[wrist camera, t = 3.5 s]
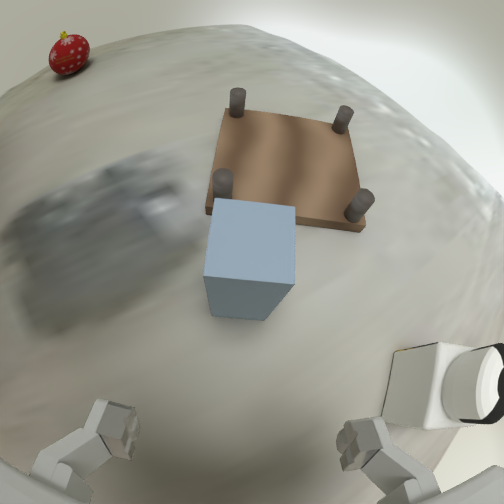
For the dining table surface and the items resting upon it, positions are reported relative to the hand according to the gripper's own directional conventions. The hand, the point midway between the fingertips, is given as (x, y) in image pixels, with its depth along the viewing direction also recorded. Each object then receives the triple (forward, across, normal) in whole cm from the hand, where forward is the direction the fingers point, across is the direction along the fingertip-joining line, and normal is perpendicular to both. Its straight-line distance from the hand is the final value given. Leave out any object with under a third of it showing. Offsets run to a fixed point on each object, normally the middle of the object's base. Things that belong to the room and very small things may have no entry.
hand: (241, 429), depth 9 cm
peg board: (+26, -4, -8) cm, 28 cm away
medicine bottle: (+10, -18, +10) cm, 22 cm away
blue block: (+16, 0, +3) cm, 16 cm away
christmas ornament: (+43, +37, -24) cm, 62 cm away
